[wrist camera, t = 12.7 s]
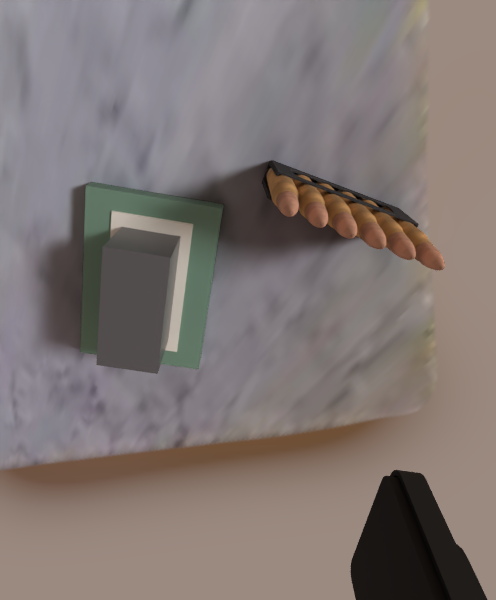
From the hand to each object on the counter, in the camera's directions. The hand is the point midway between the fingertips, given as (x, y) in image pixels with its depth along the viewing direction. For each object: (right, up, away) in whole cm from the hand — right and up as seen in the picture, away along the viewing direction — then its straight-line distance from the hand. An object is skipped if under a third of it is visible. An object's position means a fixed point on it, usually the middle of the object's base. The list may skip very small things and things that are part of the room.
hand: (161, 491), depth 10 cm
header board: (-6, +6, +28) cm, 30 cm away
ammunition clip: (+8, +12, +26) cm, 30 cm away
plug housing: (-6, +5, +27) cm, 28 cm away
